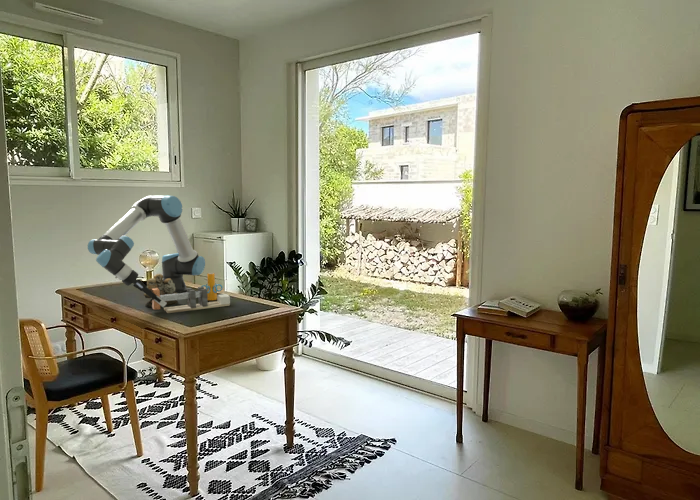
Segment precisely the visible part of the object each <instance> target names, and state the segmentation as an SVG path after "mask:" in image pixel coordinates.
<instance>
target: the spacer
mask: <svg viewBox="0 0 700 500" xmlns="http://www.w3.org/2000/svg"><path fill="white" fill-rule="evenodd" d="M216 301H218V303H219V304H221V305H222V304H230V305H231V296H230V295H228V294H227V293H221V294H217V300H216Z"/></svg>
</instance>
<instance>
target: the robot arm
mask: <svg viewBox="0 0 700 500" xmlns="http://www.w3.org/2000/svg"><path fill="white" fill-rule="evenodd" d="M182 212H183V204H182V201H181V200H180V199H179V198H178V197H177V196H175V195H170V194H168V195H153V194H152V195H147V196H145V197H143V198H141V199H140V200H137V201H136V202H134V203H133V205H131V206H130V208H129V211H127V213H126V214H124V215H123V216H122V217H121V218H120V219H119V220H118V221H116V222H115V224H113V225H112V226H111V227H110V228H109V229H107V230H106V231H105V232H104V233H103V234H102V235H101V236H100V237H99V238H97V239H96V238H94V239H91V240H89V241H88V244H87V250H88V252H89V253H90V254H93V255H97V257H96V259H95V261H96V262H97V264H98V265H99V266H101V267H102V268H104V269H105V270H106V271H107V272H109V273H110V274H112V275H113V276H114V279H117V280H119V281H121V282H122V283H123V284H125V286H130V285H132V286H133V287H134V288H135V289H138V290H139V291H141V292H143V294H145V293H146V294H147V295H148V296H149V297H151V298H150V299H152V300H154V301H156V302H157V303H158V304H159V305H161V306H162V307H161V308H165V307H166V306H165V305H166V304H167V303H166V302H165V301H164V300H162V299H161V298H160V297H159V296H157V295H156V294H154V293H153V292H152V291H151V290H150V289H148V288H147V284H144V282H143V281H142V280H140V279H137V278H139V273H138V272H137V271H135V270H134V269H132V267H131V266H129V265H128V264H127V263H125V262H124V261H123V260H124V259H125V258H126V257H127V255H128V254H129V253H130V252H131V251H132V249H133V247H134V245H135V242H134V240H133V239H132V238H130V236H127V234H128V233H130V231H131V230H133V229H134V228H135V227H136V226H137V225H138V224H139V223H140V222H143V221H144V220H146V219H147V218H150V217H158V218H159V221H160V222H161V224H164V225H165V227H166V230H167V232H168V234H169V235H170V238H171V240H172V242H173V245H174V247H175V249H176V252H177V253H175V252H174V253H169V254H164V255H162V257H161V267H162V269H161V270H162V275H163V279H162V280H163V281H164V280H166V279H168V278H169V279H171V280H172V281H173V283H174V284H175V292H174V293H184V292H187V285H186V282H185V280H184V275H186V276H200V275H201V274H202V273H203V272H204V270H205V266H206V260H205V257H203V256H201V255H199V254H198V251H197V250H195V249H194V248H193V246H192V243H191V242H190V239H189V237H188V235H187V232H186V229H185V227H184V224H183V222H182V221H181V217H182ZM164 306H165V307H164Z"/></svg>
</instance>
